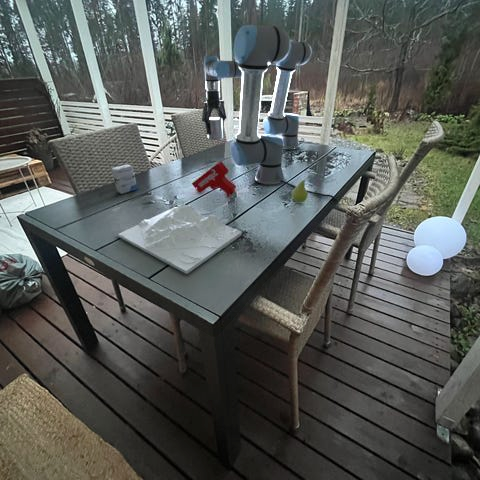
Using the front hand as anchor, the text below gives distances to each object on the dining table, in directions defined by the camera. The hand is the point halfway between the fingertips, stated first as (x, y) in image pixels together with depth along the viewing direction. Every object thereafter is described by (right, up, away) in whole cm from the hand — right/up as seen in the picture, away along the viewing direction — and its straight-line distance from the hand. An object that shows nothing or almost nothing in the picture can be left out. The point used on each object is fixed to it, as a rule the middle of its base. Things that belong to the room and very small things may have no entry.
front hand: (215, 133), depth 162 cm
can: (0, -2, +2) cm, 3 cm away
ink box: (-41, -40, -28) cm, 63 cm away
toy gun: (+2, -41, -31) cm, 52 cm away
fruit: (+41, -47, -41) cm, 75 cm away
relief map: (-7, -63, -64) cm, 90 cm away
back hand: (+23, +49, +45) cm, 71 cm away
